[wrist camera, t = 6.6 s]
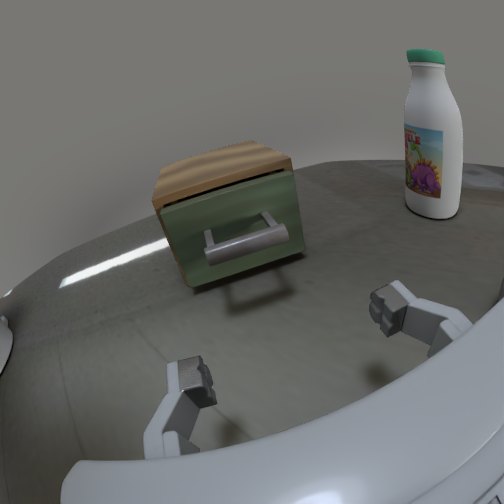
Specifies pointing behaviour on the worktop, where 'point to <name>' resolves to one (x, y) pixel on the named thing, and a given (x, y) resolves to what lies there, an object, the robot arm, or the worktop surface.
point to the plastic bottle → (501, 291)
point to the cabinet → (214, 174)
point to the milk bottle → (432, 138)
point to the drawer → (235, 226)
